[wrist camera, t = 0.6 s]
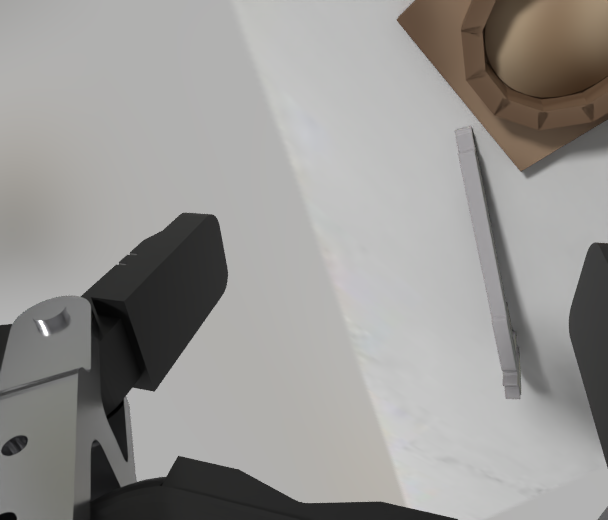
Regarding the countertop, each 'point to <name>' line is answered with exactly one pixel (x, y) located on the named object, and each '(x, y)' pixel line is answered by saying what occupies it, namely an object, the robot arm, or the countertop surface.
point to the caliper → (489, 263)
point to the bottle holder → (520, 66)
